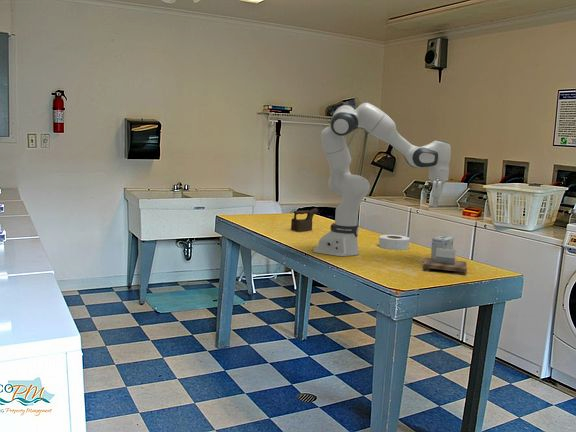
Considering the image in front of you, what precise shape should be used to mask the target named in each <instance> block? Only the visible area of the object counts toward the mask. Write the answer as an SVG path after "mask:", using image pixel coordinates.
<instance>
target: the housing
mask: <svg viewBox="0 0 576 432" xmlns="http://www.w3.org/2000/svg"><path fill="white" fill-rule="evenodd" d="M456 251H457V249H445V248H437V249H436V259H435V263H440V264H449V265H454V264H455V261H456V254H457V253H456Z"/></svg>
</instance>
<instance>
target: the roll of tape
mask: <svg viewBox="0 0 576 432" xmlns="http://www.w3.org/2000/svg"><path fill="white" fill-rule="evenodd" d="M378 247H379V248H381V249H385V250H393V251H404V250H405V251H406V250H408V249H409V248H410V237H408V236H404V235H400V234H399V235H398V234H382V235H380V236H379V240H378Z"/></svg>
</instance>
